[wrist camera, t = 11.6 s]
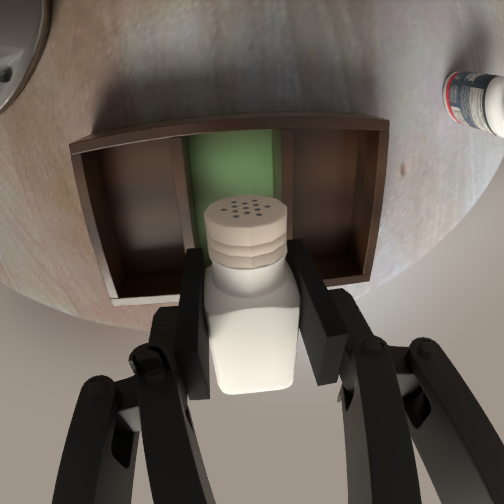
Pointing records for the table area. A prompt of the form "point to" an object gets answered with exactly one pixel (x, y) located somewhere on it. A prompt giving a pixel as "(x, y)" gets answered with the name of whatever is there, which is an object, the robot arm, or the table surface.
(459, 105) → the pill bottle
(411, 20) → the table surface
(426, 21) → the table surface
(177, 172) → the organizer
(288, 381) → the salt shaker
